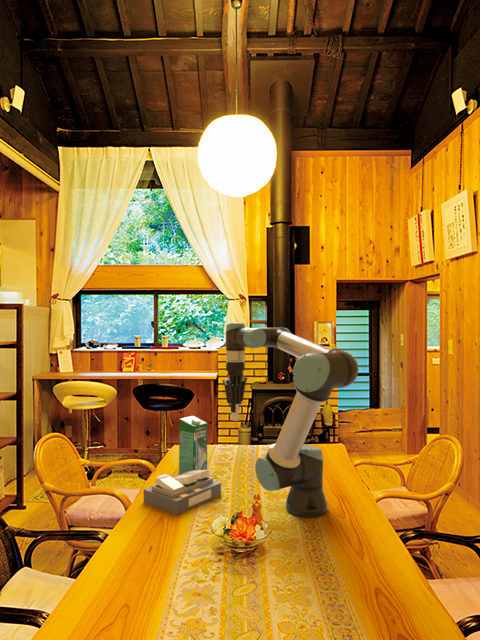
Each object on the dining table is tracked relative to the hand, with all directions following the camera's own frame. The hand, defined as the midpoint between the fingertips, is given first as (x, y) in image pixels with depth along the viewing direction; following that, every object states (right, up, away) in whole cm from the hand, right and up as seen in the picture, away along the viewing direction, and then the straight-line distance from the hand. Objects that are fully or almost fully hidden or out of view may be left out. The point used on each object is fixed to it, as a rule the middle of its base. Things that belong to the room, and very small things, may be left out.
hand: (235, 420), depth 187 cm
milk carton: (-19, -30, +24) cm, 43 cm away
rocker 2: (-20, -23, -6) cm, 31 cm away
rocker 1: (-25, -23, -11) cm, 35 cm away
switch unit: (-20, -29, -6) cm, 36 cm away
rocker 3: (-15, -23, 0) cm, 28 cm away
